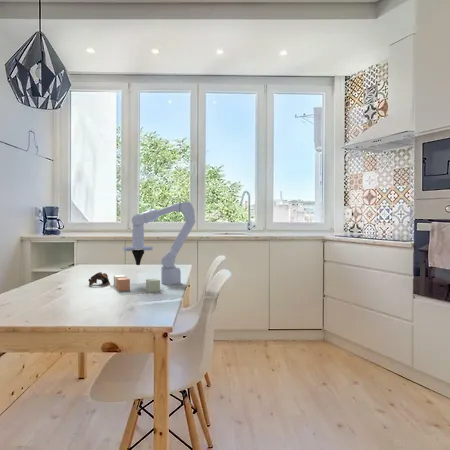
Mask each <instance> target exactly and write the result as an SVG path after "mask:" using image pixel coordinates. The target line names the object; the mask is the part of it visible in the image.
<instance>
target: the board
mask: <svg viewBox="0 0 450 450" xmlns="http://www.w3.org/2000/svg"><path fill="white" fill-rule="evenodd" d="M110 287H111V288H112V289H113V290H114V291H116V292H117V293H118V294H119V295H121V296H130V295H141V294H150V293H151V294H152V293H153V294H155V292H148V291H147V290H146V282H140V283H138V282H137V283H130V290H123V291H118V290H117V288H116V287H115V286H114V284H113V285H110ZM163 292H165V291H163V290H162V289H161V288H160V291H157V292H156V293H163Z"/></svg>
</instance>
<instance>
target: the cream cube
mask: <svg viewBox="0 0 450 450" xmlns="http://www.w3.org/2000/svg"><path fill="white" fill-rule="evenodd" d="M117 278H127V275H126V274H121V275H120V274H119V275H118V274H117V275H113V285H114V286H115V287H116V288H117Z"/></svg>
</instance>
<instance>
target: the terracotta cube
mask: <svg viewBox="0 0 450 450" xmlns="http://www.w3.org/2000/svg"><path fill="white" fill-rule="evenodd" d="M130 281H131V279H130V278H129V277H126V278H117V290H118V291H123V290H130V284H131V282H130Z"/></svg>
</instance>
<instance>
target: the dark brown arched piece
mask: <svg viewBox="0 0 450 450" xmlns="http://www.w3.org/2000/svg"><path fill="white" fill-rule="evenodd" d="M98 281H101V283H102V284H106V286H111V283H110V279H109V275H108V274H107V273H105V272H104V273H102V272H101V271H100V272H97V273H95V274H94V275H92V276H91V277H90V278H88V282H89V283H88V285H89V286H92V285H93V284H98Z"/></svg>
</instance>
